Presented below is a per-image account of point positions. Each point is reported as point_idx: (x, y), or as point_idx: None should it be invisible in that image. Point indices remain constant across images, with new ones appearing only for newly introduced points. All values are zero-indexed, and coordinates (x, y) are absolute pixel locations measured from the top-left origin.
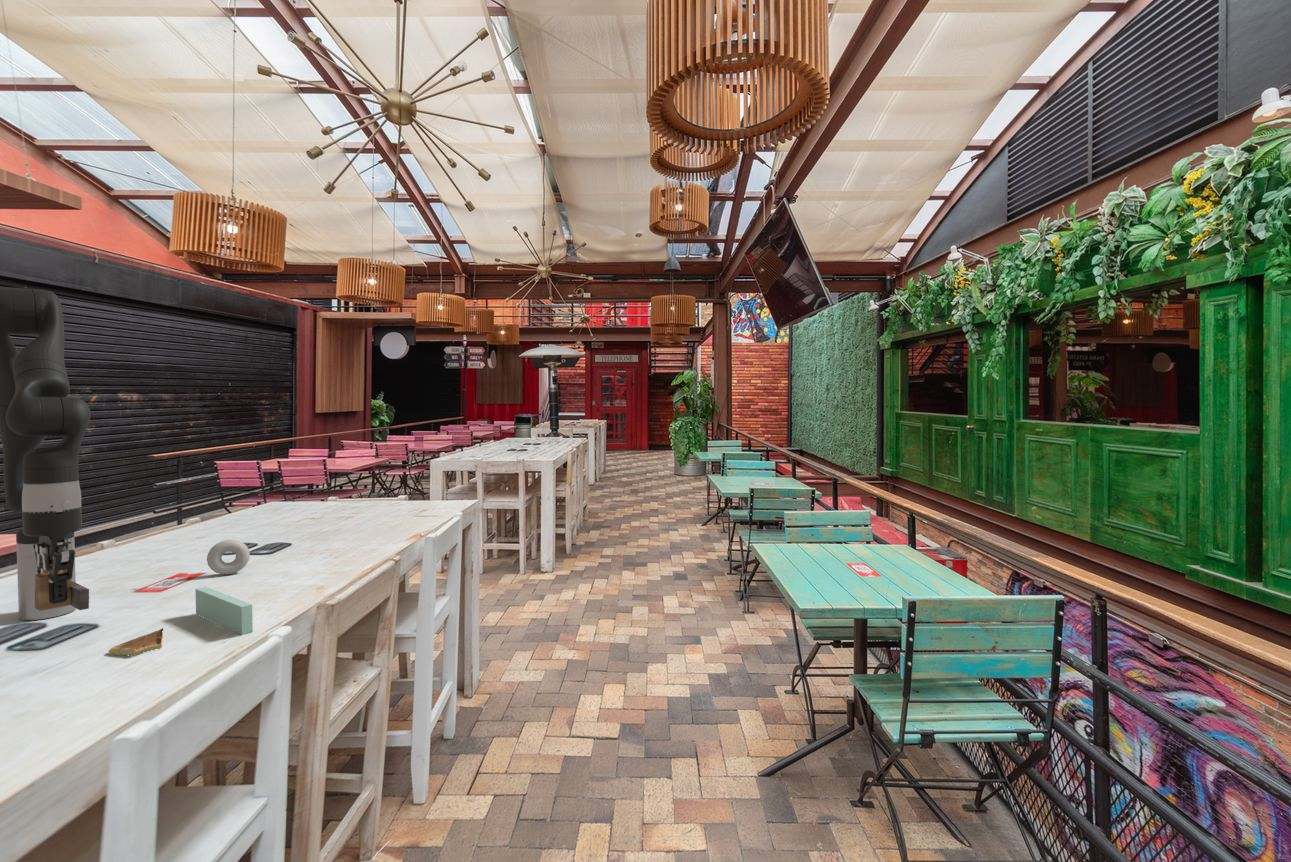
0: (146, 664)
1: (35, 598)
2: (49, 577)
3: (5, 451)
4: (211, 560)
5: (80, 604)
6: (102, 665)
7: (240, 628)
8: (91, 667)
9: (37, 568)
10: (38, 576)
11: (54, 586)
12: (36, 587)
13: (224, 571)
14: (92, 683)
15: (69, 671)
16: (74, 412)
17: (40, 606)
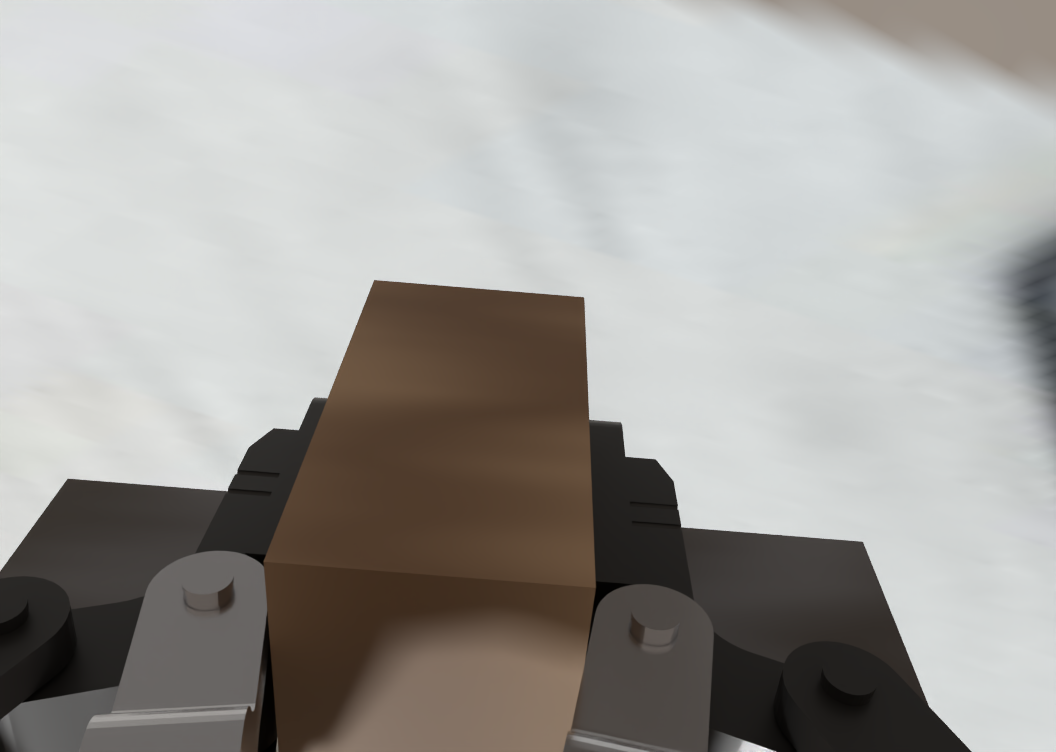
0: (110, 455)
1: (561, 355)
2: (177, 626)
3: None
4: None
5: (42, 523)
6: (310, 338)
7: None
8: (331, 296)
9: (920, 726)
10: (364, 569)
11: (198, 552)
12: (500, 443)
13: None
14: (18, 201)
15: (373, 206)
16: None
17: (367, 309)
